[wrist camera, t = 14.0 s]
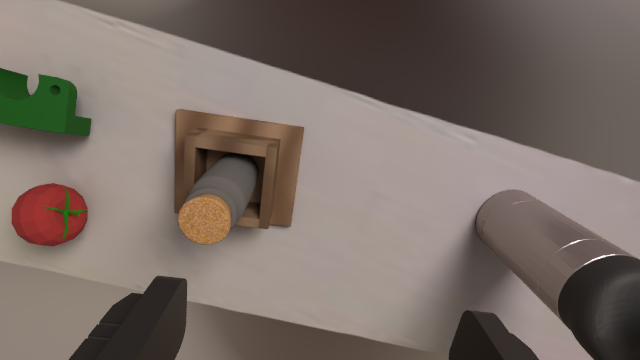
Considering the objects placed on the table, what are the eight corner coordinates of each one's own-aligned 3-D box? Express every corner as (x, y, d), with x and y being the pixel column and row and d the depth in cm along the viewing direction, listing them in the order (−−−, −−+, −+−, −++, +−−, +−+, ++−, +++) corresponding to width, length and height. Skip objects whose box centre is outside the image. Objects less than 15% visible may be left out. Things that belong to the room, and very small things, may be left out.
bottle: (243, 201, 46) (213, 261, 32) (206, 175, 45) (158, 227, 31) (268, 168, 45) (249, 216, 31) (231, 141, 43) (193, 178, 29)
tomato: (-14, 242, 39) (40, 238, 37) (4, 178, 41) (55, 171, 40) (53, 250, 46) (100, 247, 45) (65, 196, 49) (110, 190, 47)
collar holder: (304, 127, 44) (303, 136, 38) (291, 223, 49) (288, 244, 43) (179, 108, 43) (159, 115, 37) (177, 209, 47) (159, 229, 42)
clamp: (99, 90, 46) (89, 83, 38) (94, 134, 47) (83, 136, 39) (-20, 67, 41) (-60, 53, 33) (-24, 117, 41) (-65, 115, 33)
